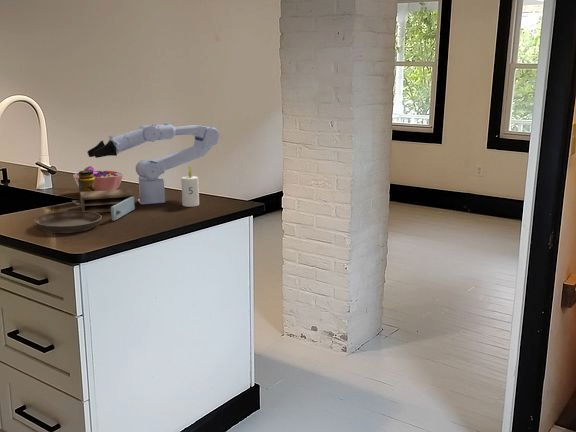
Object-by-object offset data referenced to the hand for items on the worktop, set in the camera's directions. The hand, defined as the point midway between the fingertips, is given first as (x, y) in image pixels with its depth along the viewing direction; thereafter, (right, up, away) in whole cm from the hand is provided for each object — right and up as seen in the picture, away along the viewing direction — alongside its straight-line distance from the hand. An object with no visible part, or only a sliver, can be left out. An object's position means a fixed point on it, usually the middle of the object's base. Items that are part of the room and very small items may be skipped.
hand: (91, 154), depth 218 cm
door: (+13, -21, -5) cm, 26 cm away
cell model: (-7, -13, +31) cm, 34 cm away
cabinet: (+4, -19, +6) cm, 20 cm away
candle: (+34, -18, +13) cm, 40 cm away
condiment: (-7, -17, +16) cm, 25 cm away
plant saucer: (-1, -26, -19) cm, 32 cm away
